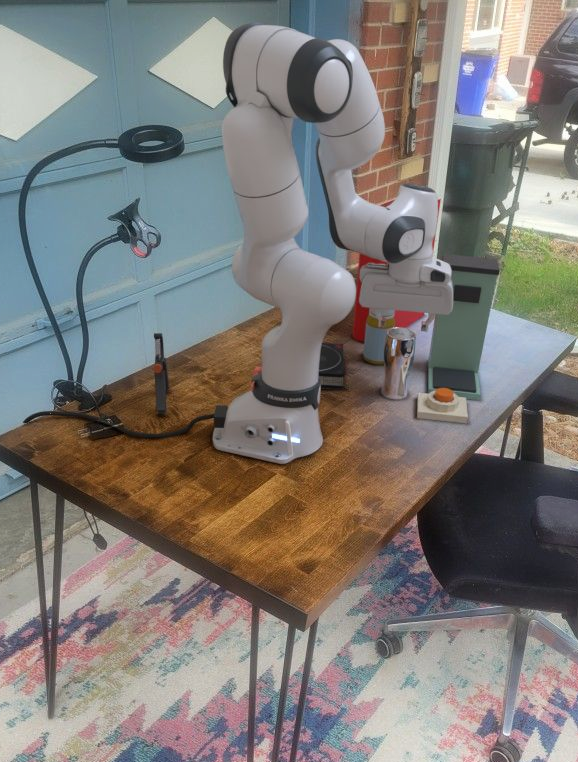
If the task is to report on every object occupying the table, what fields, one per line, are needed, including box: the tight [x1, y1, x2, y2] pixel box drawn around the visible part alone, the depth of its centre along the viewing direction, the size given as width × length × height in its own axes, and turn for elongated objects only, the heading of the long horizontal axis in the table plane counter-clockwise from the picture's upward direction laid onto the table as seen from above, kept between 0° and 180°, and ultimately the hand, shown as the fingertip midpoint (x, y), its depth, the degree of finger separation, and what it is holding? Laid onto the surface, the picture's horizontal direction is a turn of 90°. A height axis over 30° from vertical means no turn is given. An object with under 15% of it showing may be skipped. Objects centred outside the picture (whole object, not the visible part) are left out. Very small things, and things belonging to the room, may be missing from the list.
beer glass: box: [380, 327, 417, 400], centre depth 165 cm, size 7×7×15 cm
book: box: [352, 198, 442, 343], centre depth 191 cm, size 27×8×32 cm, turn 147°
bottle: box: [362, 308, 395, 366], centre depth 178 cm, size 7×7×15 cm
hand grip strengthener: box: [152, 332, 170, 416], centre depth 153 cm, size 2×12×15 cm, turn 9°
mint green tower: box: [427, 253, 501, 401], centre depth 169 cm, size 13×18×27 cm
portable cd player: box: [319, 342, 345, 391], centre depth 173 cm, size 16×17×4 cm
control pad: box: [416, 391, 469, 424], centre depth 163 cm, size 11×9×4 cm
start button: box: [435, 388, 454, 403], centre depth 162 cm, size 4×4×2 cm
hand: (402, 328), depth 160 cm, fingers open, 8 cm apart
